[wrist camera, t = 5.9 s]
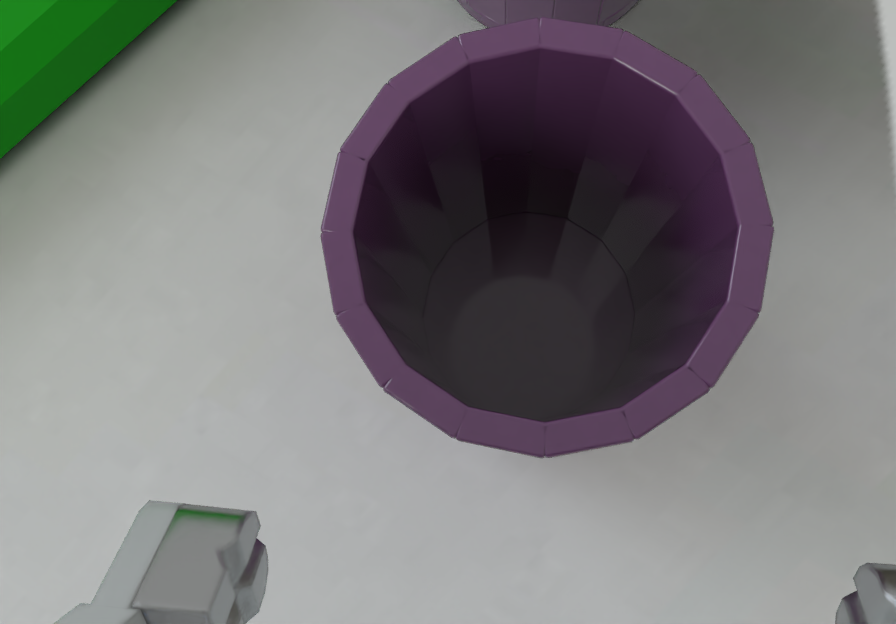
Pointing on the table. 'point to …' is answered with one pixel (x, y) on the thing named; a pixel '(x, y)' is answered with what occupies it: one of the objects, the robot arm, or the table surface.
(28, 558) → the table surface
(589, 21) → the tumbler
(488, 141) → the plum tumbler
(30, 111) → the book
